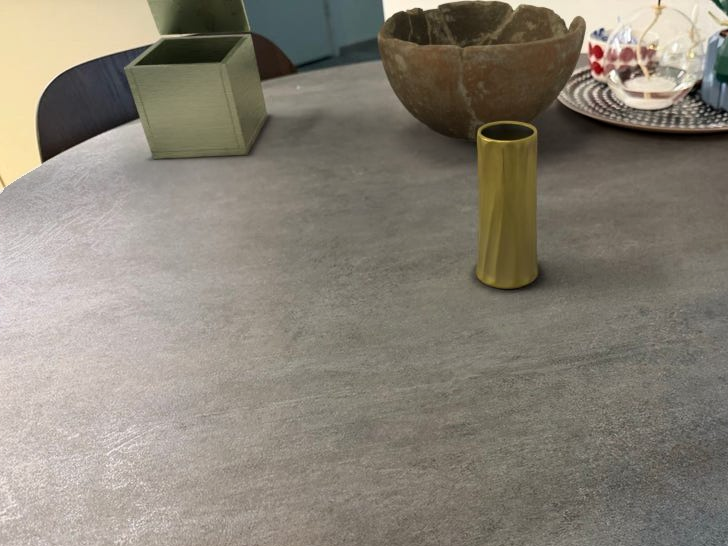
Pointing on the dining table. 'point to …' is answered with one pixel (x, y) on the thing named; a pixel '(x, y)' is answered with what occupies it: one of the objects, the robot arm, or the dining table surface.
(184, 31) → the bin lid
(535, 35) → the bowl
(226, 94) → the bin
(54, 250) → the dining table surface
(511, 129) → the vase
